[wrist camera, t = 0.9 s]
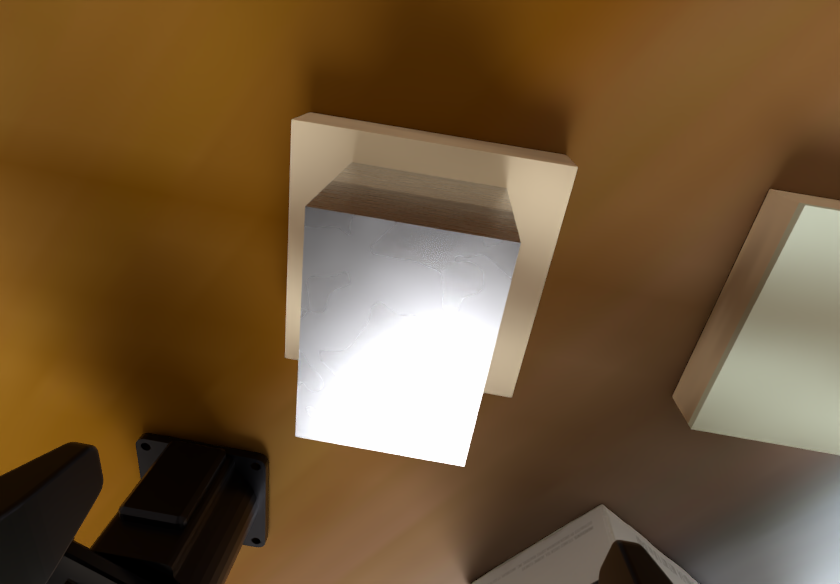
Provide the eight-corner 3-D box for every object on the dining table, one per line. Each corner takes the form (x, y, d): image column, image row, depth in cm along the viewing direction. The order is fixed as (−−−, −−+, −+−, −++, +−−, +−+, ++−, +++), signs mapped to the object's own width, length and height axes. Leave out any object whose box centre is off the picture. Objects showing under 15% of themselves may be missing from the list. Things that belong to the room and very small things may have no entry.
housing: (465, 367, 19) (464, 466, 14) (336, 345, 19) (295, 436, 14) (506, 188, 16) (520, 243, 11) (352, 162, 16) (305, 206, 11)
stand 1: (508, 368, 21) (511, 397, 19) (300, 331, 21) (284, 357, 19) (566, 154, 17) (578, 167, 15) (310, 112, 17) (291, 119, 15)
